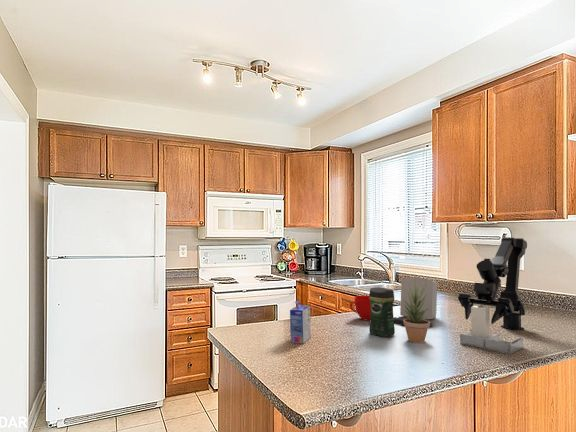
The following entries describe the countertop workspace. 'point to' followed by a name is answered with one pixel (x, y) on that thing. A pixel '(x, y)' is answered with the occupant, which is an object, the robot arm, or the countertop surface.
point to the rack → (491, 343)
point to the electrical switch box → (429, 299)
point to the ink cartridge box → (300, 323)
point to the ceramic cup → (362, 307)
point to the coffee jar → (381, 312)
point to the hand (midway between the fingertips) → (478, 321)
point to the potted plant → (416, 317)
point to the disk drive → (400, 319)
